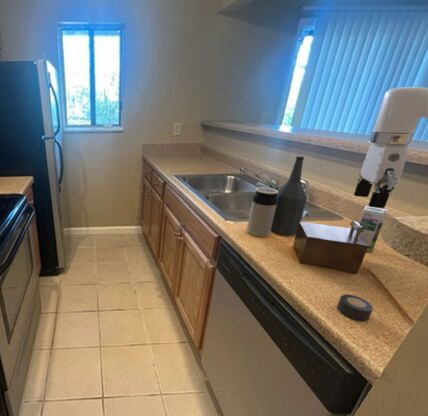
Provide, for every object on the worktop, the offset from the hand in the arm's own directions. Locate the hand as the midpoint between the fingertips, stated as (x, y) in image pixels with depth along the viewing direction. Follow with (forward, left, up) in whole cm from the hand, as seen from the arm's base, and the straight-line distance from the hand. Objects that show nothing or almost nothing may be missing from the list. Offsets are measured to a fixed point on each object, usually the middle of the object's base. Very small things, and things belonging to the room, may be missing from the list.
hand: (367, 201), depth 77 cm
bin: (+4, -5, -22) cm, 23 cm away
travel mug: (+22, -18, -22) cm, 36 cm away
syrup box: (-11, -20, -22) cm, 32 cm away
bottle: (+13, -24, -22) cm, 35 cm away
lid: (+4, -5, -13) cm, 15 cm away
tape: (+4, +22, -22) cm, 32 cm away
